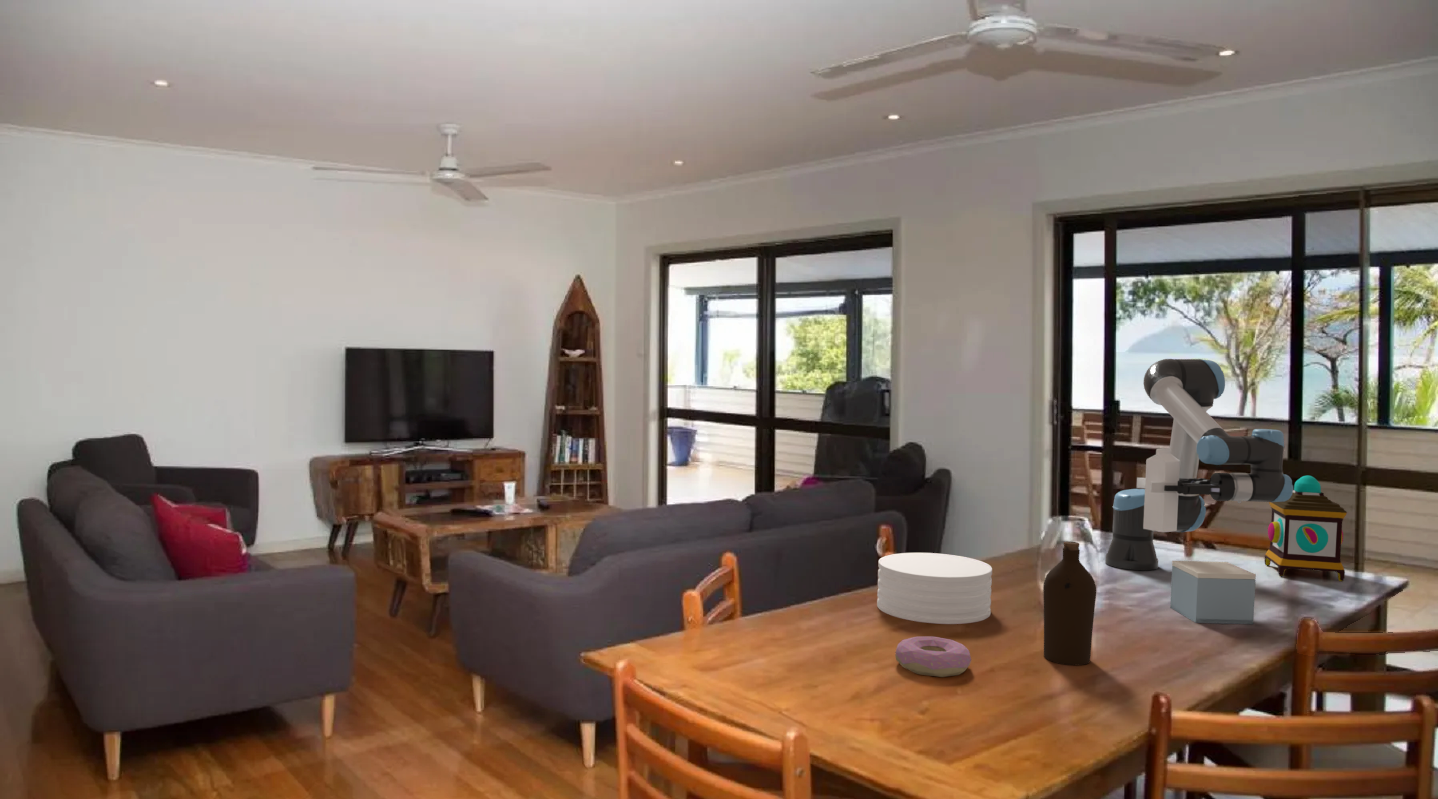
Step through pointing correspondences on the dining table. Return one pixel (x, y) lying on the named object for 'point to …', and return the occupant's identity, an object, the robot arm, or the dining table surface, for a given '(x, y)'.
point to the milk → (1161, 505)
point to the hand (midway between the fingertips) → (1144, 485)
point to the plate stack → (934, 588)
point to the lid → (1213, 570)
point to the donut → (933, 656)
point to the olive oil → (1069, 609)
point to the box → (1212, 598)
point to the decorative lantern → (1306, 531)
